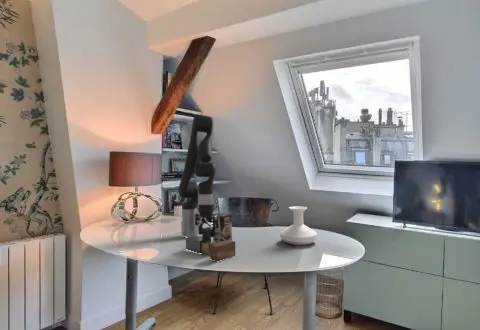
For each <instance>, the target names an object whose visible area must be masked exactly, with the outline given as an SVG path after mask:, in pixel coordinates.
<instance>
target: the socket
mask: <svg viewBox="0 0 480 330" xmlns="http://www.w3.org/2000/svg"><path fill="white" fill-rule="evenodd" d="M235 255H236V241H235V240H232V241H231V240H225V241H222V242H218V243H215V244H212V245H210V255H209V256H210V259H212V260H215V261H214V262H216V261H220V260H223V259H226V258H228V259H230V258H229V257H231V258H233V257H232V256H234V257H236V256H235ZM210 259H209V260H210ZM212 260H211V261H212ZM226 260H227V259H226ZM223 261H224V260H223ZM220 262H221V261H220Z"/></svg>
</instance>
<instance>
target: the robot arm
mask: <svg viewBox="0 0 480 330" xmlns="http://www.w3.org/2000/svg"><path fill="white" fill-rule="evenodd" d="M214 125H215V124H214V118H213V117H211V116H208V115H205V114H204V115H203V114H197V113H196V114H195V115H194V116H193V120H192V125H191V126H192V127H191V131H190V137H189V138H190V139H189V144H188V149H187V153H186V156H185V163H184V168H183V172H182V174H181V175H182V176H181V179H180V181H179V186H178V195H179V196H180V198H189V199H188V200H187V201H186V202H183V203H182V205H181V213H182V214H181V216H182V219H181V221H180V222H181V223H180V224H181V225H180V226H181V236H182V235H183V236H187V237H192V236H197V235H198V236H200V235H201V236H202V228H204V227H203V225H204V224H205V225H208V226H207V227H210V229H211V230H210V234H211V238H213V237H214V236H215V229H216V228H218V216H215V215H213V213H214V211H215V210H214V209H215V208H214V207H215V205H214V202H215V201H214V179H215V176H216V175H215V174H216V172H217V165H216V164H215V163H214V162H211V161H212V159H213V155H212V153H213V152H212V151H213V150H212V144H213V135H214ZM198 132H199V133H205V134H206V135H205V136H204V138H203V139H202V140H201V141H200V142H199V138H198ZM193 175H195V176H196V177H198V178H202V177H203V178H207V177H208V179H207V180H204V181H200V182H199V183H197V181H191V179H192V177H193ZM215 224H216V226H215Z"/></svg>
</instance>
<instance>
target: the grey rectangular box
mask: <svg viewBox="0 0 480 330" xmlns="http://www.w3.org/2000/svg"><path fill="white" fill-rule="evenodd" d="M201 242H202V235H201V236H200V235H198V236H192V237H188V238H185V250H186V249H188V250H191V251H194V252H197V253H201Z"/></svg>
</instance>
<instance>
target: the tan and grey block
mask: <svg viewBox="0 0 480 330" xmlns="http://www.w3.org/2000/svg"><path fill="white" fill-rule="evenodd" d="M210 230H211V229H210V227H209V226H206V227H203V228H202V234H201V237H202V242H201V253H205V255H208V256H210V245H212V244H215V243H216V242H213V241H212V237H211V234H210Z"/></svg>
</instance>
